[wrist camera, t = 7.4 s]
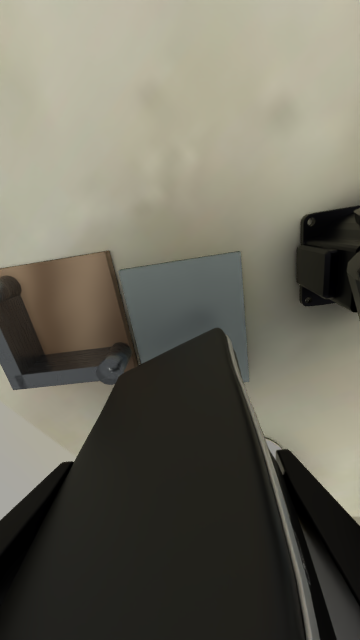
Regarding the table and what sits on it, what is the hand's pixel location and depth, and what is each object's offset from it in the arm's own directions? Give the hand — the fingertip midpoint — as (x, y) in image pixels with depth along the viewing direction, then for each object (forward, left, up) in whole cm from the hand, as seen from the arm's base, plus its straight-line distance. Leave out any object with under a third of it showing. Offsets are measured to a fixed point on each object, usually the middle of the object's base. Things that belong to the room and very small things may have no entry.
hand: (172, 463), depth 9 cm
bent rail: (+9, -2, -11) cm, 15 cm away
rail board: (+10, -2, -12) cm, 16 cm away
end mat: (0, 0, -12) cm, 12 cm away
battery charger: (0, 0, -6) cm, 6 cm away
